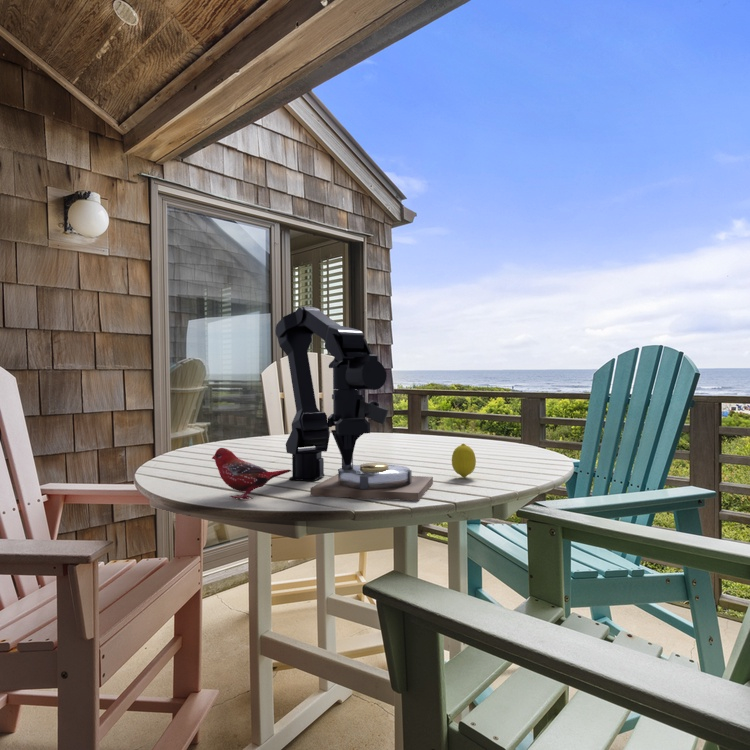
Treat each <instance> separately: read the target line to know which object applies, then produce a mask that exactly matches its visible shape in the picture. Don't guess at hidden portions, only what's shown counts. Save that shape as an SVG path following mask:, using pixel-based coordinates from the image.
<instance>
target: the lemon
mask: <svg viewBox="0 0 750 750" xmlns="http://www.w3.org/2000/svg"><path fill="white" fill-rule="evenodd" d="M476 458H477V457H476V455H475V451H474V450H473V449H472V448H471V447H470V446H469V445H467V444H465V443H461V445H458V446H457V447H455V448H454V450H453V452H452V455H451V466H452V469H453V471H454V472H455V473H456V474H458V475H459V476H461V477H462V478H463V479H466V477H468V475H471V474H472V473H473V472H474V471H475V469H476V466H477V464H476V463H477V461H476V460H477V459H476Z"/></svg>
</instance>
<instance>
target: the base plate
mask: <svg viewBox="0 0 750 750" xmlns="http://www.w3.org/2000/svg"><path fill="white" fill-rule="evenodd" d="M433 484H434V477H433V476H427V475H426V476H424V475H422V476H421V475H412V483H410V484H407V485H404V486H401V487H395V488H386V489H358V488H350V487H345V486H342V485H340V484H339V481H338V473H337V474H335V475H333V476H331V477H329V478H327V479H325V480H323V481H320V482H319V483H317V484H316V485H314V486H312V487H310V488H309V489H310V492H309V493H310V496H311V495H313V496H314V497H332V498H333V497H335V498H349V497H351V498H352V499H369V498H379V499H378V500H389V499H400V500H399V501H409V500H412V502H419V501H420V500H421V499H422V498H423V497H424V495H425V494H426V493H427V491H429V489H430V488H431V487H432V485H433ZM429 487H430V488H429ZM425 492H426V493H425ZM424 493H425V494H424ZM313 496H312V497H313ZM420 498H421V499H420Z"/></svg>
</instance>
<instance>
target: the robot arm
mask: <svg viewBox="0 0 750 750" xmlns="http://www.w3.org/2000/svg"><path fill="white" fill-rule="evenodd" d="M275 335H276V338H277V340H278V341H277V342H278V346H279V348H280V349H281V350H282V351H283V352H284V353H285V355H286V356H287V361H288V367H289V372H290V378H291V384H292V392H293V398H294V404H295V409H296V411H295V415H294V418H293V420H292V422H291V431H290V434H289V436H288V438H287V440H286V443H285V450H286V453H287V454H291V456H292V457H291V458H292V459H291V461H292V463H291V465H292V469H291V473H292V474H291V475H292V476H290V477H288V479H289V480H291V481H311V482H312V481H317V480H319V479H321V478H323V477H325V473H324V471H325V469H324V461H325V460H324V458H323V455H322V454H323V453H322V452H324V453H326V452H327V451H328V447H329V442H330V435H331V434H332V436H333V438H334V441H335V443H336V446H337V448H338V451H339V453H340V456H341V460H342V459H343V461H344V464H345V465H350V464H351V460H352V456H353V457H354V450H355V447H356V442H357V440H358V439H359V438H360V437H361V436H362V435H363V436H364V435H365V434H371V423H370V422H369V421H368V420H367V419H370V420H372V421H373V422H375V423H378V424H381V425H385V422H386V419H387V416H388V413H389V409H385V408H383V407H380V402H376V401H374V400H369V402H365V395H363V394H362V393H361V392H362V391H363V390H364V391H365V390H367V391H376V390H379V389H381V388H382V387H383V386H384V385H385V383H386V380H387V376H388V375H387V371H386V367H385V366H384V365H383V363H381V362H380V361H378V360H379V359H378V358H379V356H378V354H374V353H373V351H372V350H371V348H370V347H369V344H368V341H367V340H366V338H365V334H364V333H363V331H361V330H359V329H356V328H353V327H348V326H343V325H340V324H339V323H338V322H336V321H334V320H333V319H331V318H330V317H329V316H328V315H326V314H325V313H323V312H322V311H321V309H320V308H317V307H316V306H315V307H313V306H310V307H309V306H303V305H302V306H301V307H298V308H297V309H295V311H293V312H291V313H288V314H286V315H284V316H283V317H282V318H280V320H279V321H278V322H277V324H276V326H275ZM314 335H317V336H318V337H319V338H320V339H322V340H323V341H324V349H325V350H326V351H327V352H328V353H329V354H330V356H332V357H333V359H332V361H330V362H329V365H328V368H329V369H332V389H333V390H332V394H331V399H332V400H333V405H332V406H333V407H332V408H333V410H332V411H333V412H332V413H330V415H329V416H328V415H327V413H326V412H324V411H323V412H321V411H320V410H319V408H318V407H317V402H316V395H315V390H314V382H313V376H312V371H311V365H310V359H309V353H308V350H309V348H310V346H311V343H312V342H313V336H314ZM361 390H362V391H361ZM332 427H334V429H330V428H332Z"/></svg>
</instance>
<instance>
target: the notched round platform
mask: <svg viewBox="0 0 750 750" xmlns="http://www.w3.org/2000/svg"><path fill="white" fill-rule="evenodd" d="M337 470H338V473H337V474H338V481H339V484H340V485H342V486H345V487H350V488H358V489H386V488H395V487H401V486H404V485H407V484H410V483H412V476H413V474H412V470H411V469H410V468H409V467H407V466H405V465H400V464H399V465H398V464H390V463H389V464H388V463H385V462H366V463H361V464H355V465H354V455H353V456H352V460H351V464H350V465H345V464H344V461H343V459H342V458H341V467H340V468H338V469H337Z"/></svg>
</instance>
